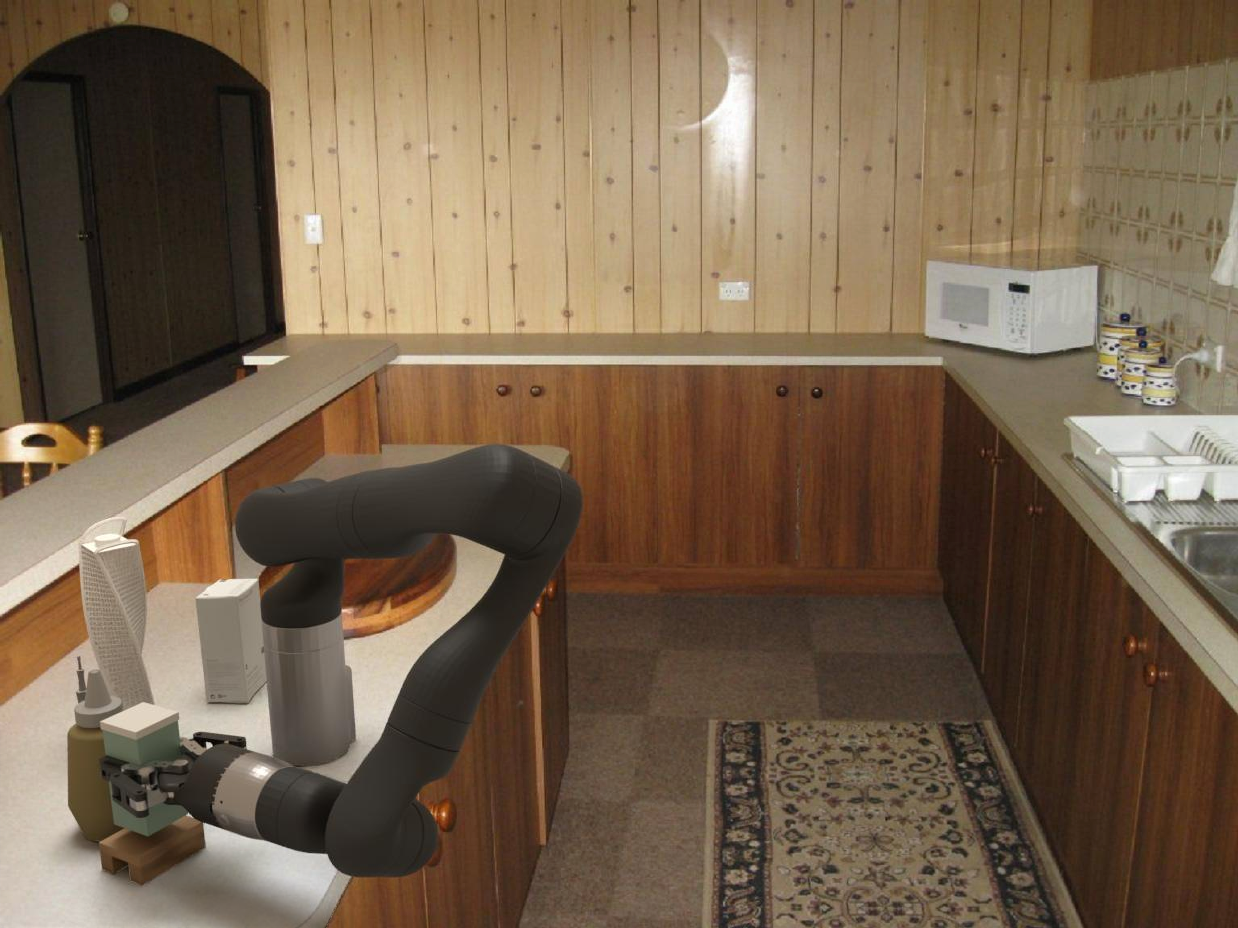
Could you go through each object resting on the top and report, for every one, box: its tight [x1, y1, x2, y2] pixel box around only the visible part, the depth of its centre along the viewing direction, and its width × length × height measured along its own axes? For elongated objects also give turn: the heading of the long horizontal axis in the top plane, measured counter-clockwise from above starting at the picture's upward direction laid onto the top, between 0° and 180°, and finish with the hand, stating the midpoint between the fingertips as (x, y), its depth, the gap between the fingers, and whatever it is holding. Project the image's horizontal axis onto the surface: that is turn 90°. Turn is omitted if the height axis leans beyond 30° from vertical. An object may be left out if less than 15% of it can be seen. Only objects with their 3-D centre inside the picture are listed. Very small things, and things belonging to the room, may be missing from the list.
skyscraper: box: [75, 516, 156, 711], centre depth 150 cm, size 8×8×28 cm
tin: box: [100, 702, 189, 836], centre depth 125 cm, size 5×5×11 cm
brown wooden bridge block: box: [98, 814, 207, 886], centre depth 127 cm, size 8×6×3 cm
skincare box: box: [195, 578, 267, 704], centre depth 165 cm, size 8×6×15 cm
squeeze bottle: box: [66, 669, 124, 842], centre depth 131 cm, size 8×8×18 cm
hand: (126, 754), depth 126 cm, fingers closed on tin, 5 cm apart
